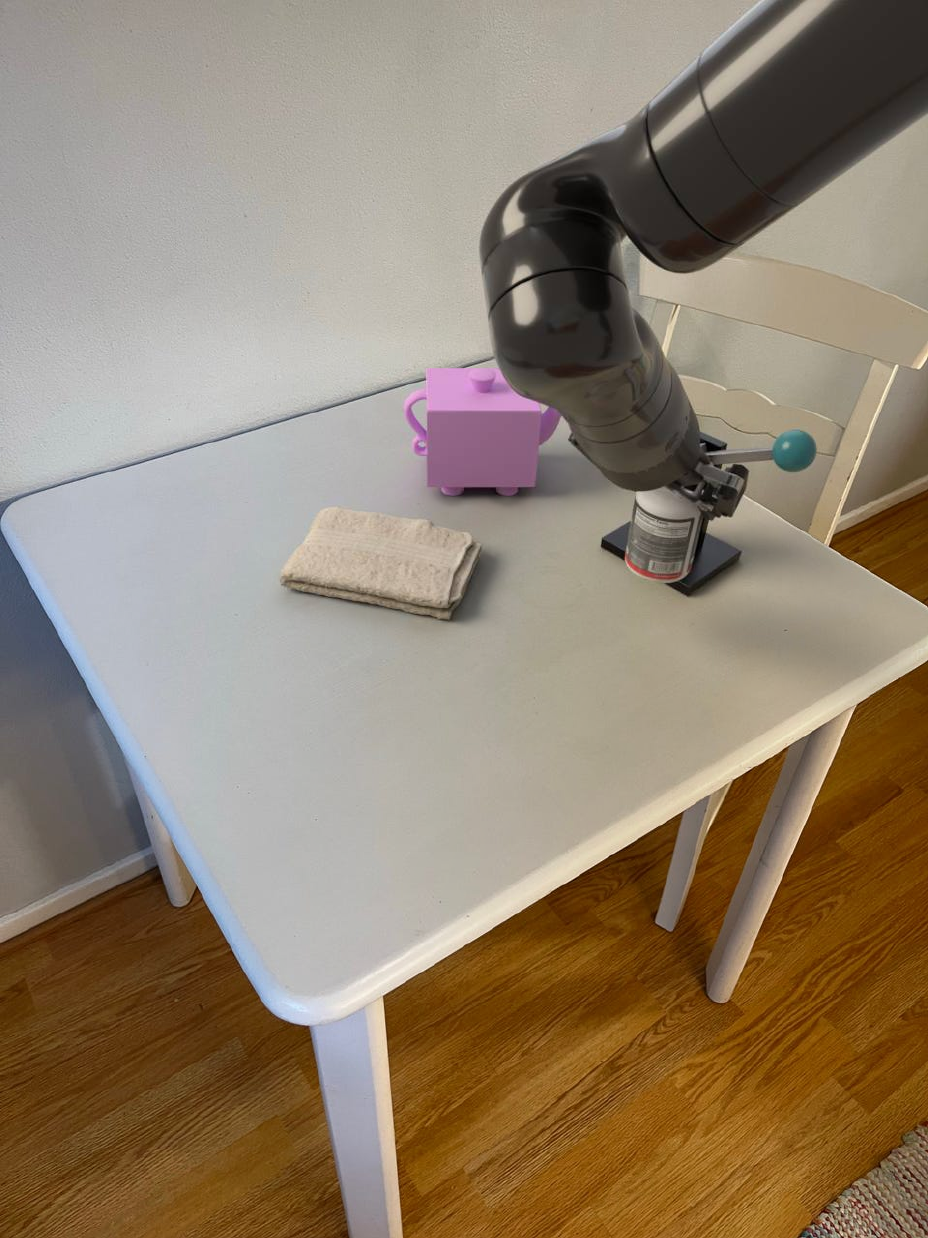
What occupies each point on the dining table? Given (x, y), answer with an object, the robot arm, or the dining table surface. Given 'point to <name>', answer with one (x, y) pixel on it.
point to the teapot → (478, 431)
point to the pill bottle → (662, 536)
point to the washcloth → (383, 561)
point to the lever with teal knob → (773, 452)
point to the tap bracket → (709, 549)
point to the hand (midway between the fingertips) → (678, 495)
